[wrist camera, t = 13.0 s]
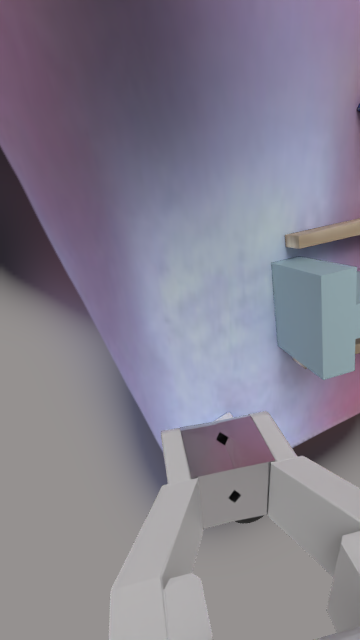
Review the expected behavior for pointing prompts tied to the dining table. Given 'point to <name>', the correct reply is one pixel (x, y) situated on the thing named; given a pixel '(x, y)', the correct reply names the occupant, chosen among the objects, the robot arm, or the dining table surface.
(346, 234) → the frame
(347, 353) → the blue block with tab
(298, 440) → the dining table surface
